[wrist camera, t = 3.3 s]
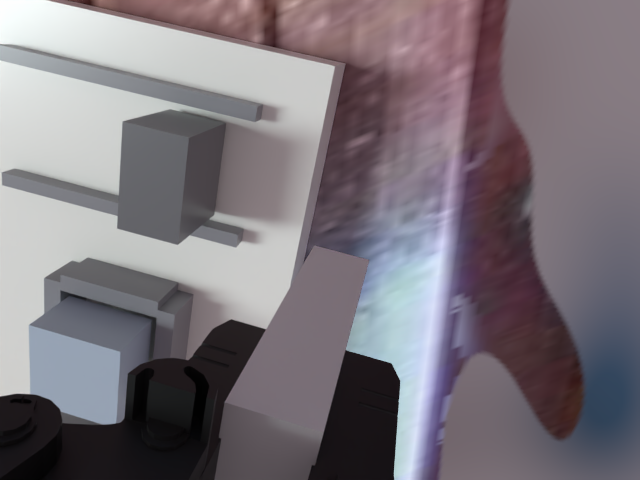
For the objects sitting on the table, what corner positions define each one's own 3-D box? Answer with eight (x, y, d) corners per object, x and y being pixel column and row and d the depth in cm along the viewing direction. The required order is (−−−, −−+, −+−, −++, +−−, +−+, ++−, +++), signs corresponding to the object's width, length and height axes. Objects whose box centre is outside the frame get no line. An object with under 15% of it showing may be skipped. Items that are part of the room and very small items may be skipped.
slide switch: (170, 109, 21) (122, 121, 17) (226, 123, 20) (189, 137, 17) (162, 201, 22) (116, 228, 19) (214, 214, 22) (177, 245, 19)
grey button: (69, 295, 23) (28, 325, 21) (152, 319, 23) (120, 352, 20) (68, 367, 25) (30, 402, 22) (146, 390, 24) (115, 428, 22)
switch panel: (28, -9, 23) (-68, -23, 19) (345, 63, 22) (325, 68, 17) (35, 425, 33) (-26, 486, 29) (254, 493, 32) (227, 569, 27)
